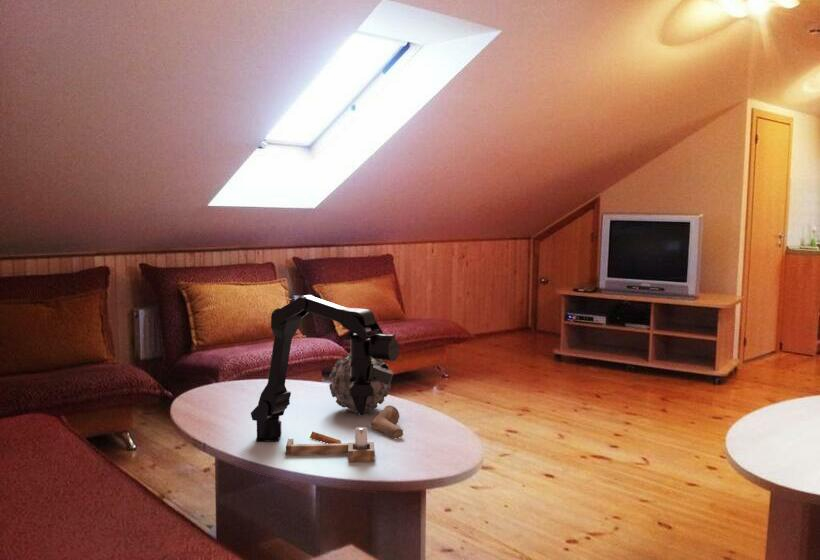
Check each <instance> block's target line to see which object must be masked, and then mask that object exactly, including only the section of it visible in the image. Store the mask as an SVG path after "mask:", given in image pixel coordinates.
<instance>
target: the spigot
mask: <svg viewBox="0 0 820 560" xmlns="http://www.w3.org/2000/svg"><path fill="white" fill-rule="evenodd" d="M354 431H355V432H354V433H355V434H354V436H355V438H354V439H355V440H354V443H355V450H359V449H367V442H368V427H365V426H358V427H357V426H356V427H355V430H354Z"/></svg>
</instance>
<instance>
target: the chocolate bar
mask: <svg viewBox="0 0 820 560" xmlns="http://www.w3.org/2000/svg"><path fill="white" fill-rule="evenodd" d="M310 438H312V439H311V440H314V439H315V440H314V441H317V440H318V441H317V442H320V441H322V442H321V443H323V442H325V443H324V444H326V443H328V444H339V443H342V441H341V440H340V439H336V438H334V437H330V436H328V435H325V434H322V433H319V432H315V431H311V434H310V437H309V439H310Z"/></svg>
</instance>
